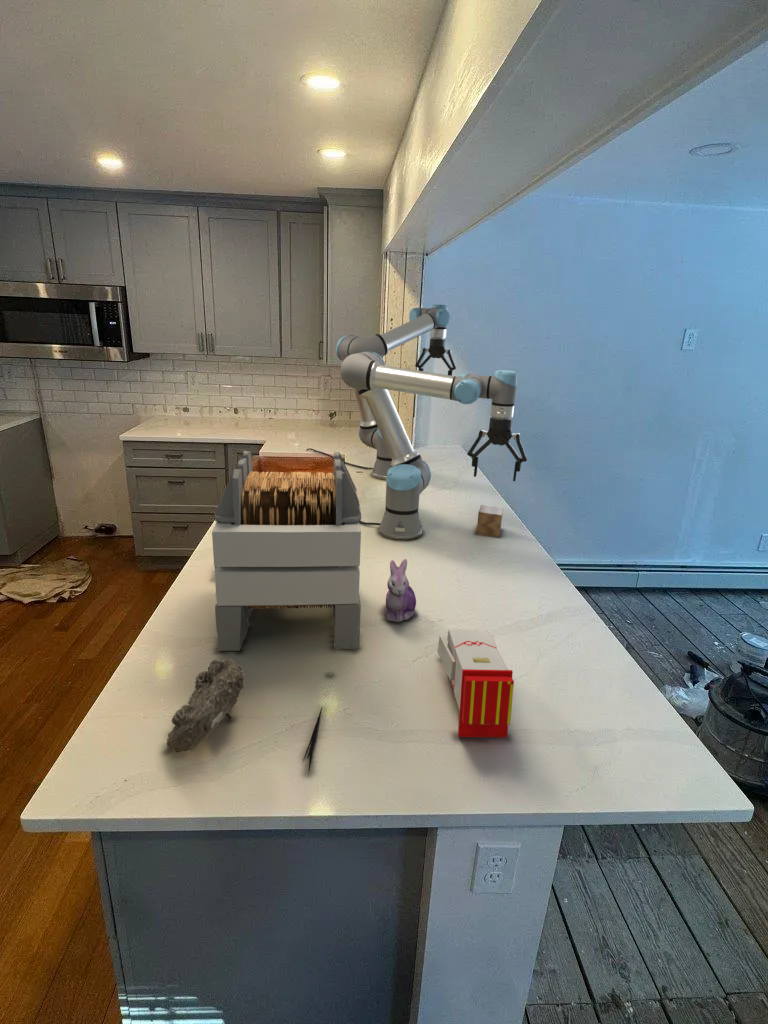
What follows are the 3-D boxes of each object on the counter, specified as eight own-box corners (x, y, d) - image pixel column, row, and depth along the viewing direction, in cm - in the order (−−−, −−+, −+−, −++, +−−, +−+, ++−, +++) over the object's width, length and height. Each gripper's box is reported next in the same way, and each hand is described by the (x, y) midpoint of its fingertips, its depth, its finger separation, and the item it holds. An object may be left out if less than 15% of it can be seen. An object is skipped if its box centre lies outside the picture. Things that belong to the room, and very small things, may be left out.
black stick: (331, 679, 122) (336, 673, 122) (307, 777, 96) (313, 769, 95) (324, 675, 122) (329, 669, 121) (298, 772, 95) (304, 764, 95)
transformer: (235, 584, 159) (228, 441, 145) (352, 582, 163) (356, 443, 149) (215, 653, 127) (203, 479, 113) (360, 649, 131) (366, 481, 117)
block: (476, 534, 203) (478, 512, 200) (478, 526, 211) (481, 504, 208) (498, 537, 201) (501, 515, 198) (500, 529, 209) (503, 507, 206)
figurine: (392, 627, 141) (395, 572, 136) (374, 608, 149) (376, 556, 144) (425, 619, 145) (429, 566, 140) (405, 601, 154) (408, 550, 149)
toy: (488, 613, 130) (523, 677, 101) (484, 667, 133) (517, 744, 104) (435, 612, 130) (455, 676, 101) (432, 666, 133) (451, 743, 103)
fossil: (192, 660, 117) (244, 628, 112) (224, 691, 120) (276, 661, 115) (142, 746, 98) (202, 712, 93) (182, 779, 101) (242, 748, 96)
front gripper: (463, 416, 191) (457, 476, 198) (539, 422, 185) (530, 485, 192) (466, 412, 198) (460, 471, 205) (539, 419, 192) (531, 479, 199)
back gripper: (411, 337, 274) (408, 381, 281) (462, 340, 268) (458, 385, 275) (414, 336, 281) (411, 380, 288) (464, 339, 275) (460, 384, 282)
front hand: (494, 478), depth 199 cm, fingers open, 13 cm apart
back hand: (434, 383), depth 281 cm, fingers open, 13 cm apart
